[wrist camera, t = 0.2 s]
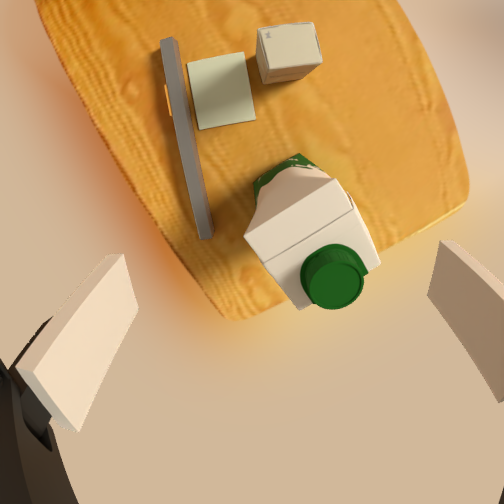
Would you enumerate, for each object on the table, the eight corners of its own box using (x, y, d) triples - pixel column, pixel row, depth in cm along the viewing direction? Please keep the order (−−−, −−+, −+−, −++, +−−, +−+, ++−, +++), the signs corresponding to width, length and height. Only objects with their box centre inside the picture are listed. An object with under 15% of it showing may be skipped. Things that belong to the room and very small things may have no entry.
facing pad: (187, 63, 30) (187, 63, 30) (243, 51, 29) (243, 51, 29) (199, 130, 34) (199, 130, 34) (255, 119, 33) (256, 119, 33)
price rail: (162, 45, 29) (156, 41, 26) (177, 41, 29) (172, 36, 26) (200, 233, 40) (197, 240, 38) (214, 230, 40) (212, 238, 37)
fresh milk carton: (281, 235, 40) (299, 336, 22) (242, 179, 37) (226, 245, 19) (337, 200, 37) (401, 278, 19) (301, 141, 34) (347, 169, 16)
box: (262, 85, 31) (264, 70, 21) (255, 53, 29) (253, 27, 19) (305, 78, 31) (324, 63, 21) (297, 47, 29) (313, 20, 19)
